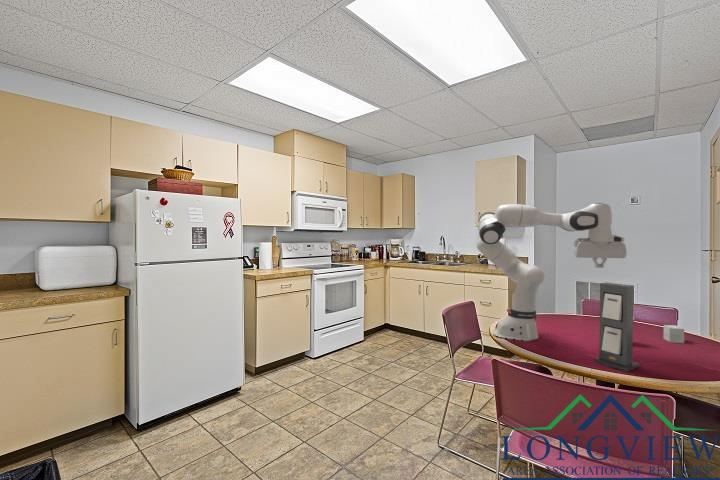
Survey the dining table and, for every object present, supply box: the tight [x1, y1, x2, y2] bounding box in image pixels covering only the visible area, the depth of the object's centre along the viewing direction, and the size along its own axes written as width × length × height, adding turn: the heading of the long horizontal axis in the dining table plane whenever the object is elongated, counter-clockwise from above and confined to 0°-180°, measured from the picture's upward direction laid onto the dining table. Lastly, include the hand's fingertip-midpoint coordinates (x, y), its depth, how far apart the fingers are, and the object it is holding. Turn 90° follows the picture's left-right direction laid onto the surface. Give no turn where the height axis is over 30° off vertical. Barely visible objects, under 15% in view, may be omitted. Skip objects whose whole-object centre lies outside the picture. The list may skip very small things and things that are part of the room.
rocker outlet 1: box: [602, 326, 623, 355], centre depth 141 cm, size 2×6×10 cm, turn 29°
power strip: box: [594, 281, 640, 373], centre depth 142 cm, size 10×12×34 cm
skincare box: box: [663, 324, 685, 344], centre depth 171 cm, size 6×6×7 cm
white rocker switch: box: [602, 293, 623, 321], centre depth 140 cm, size 2×6×10 cm, turn 29°
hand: (599, 267), depth 159 cm, fingers closed
